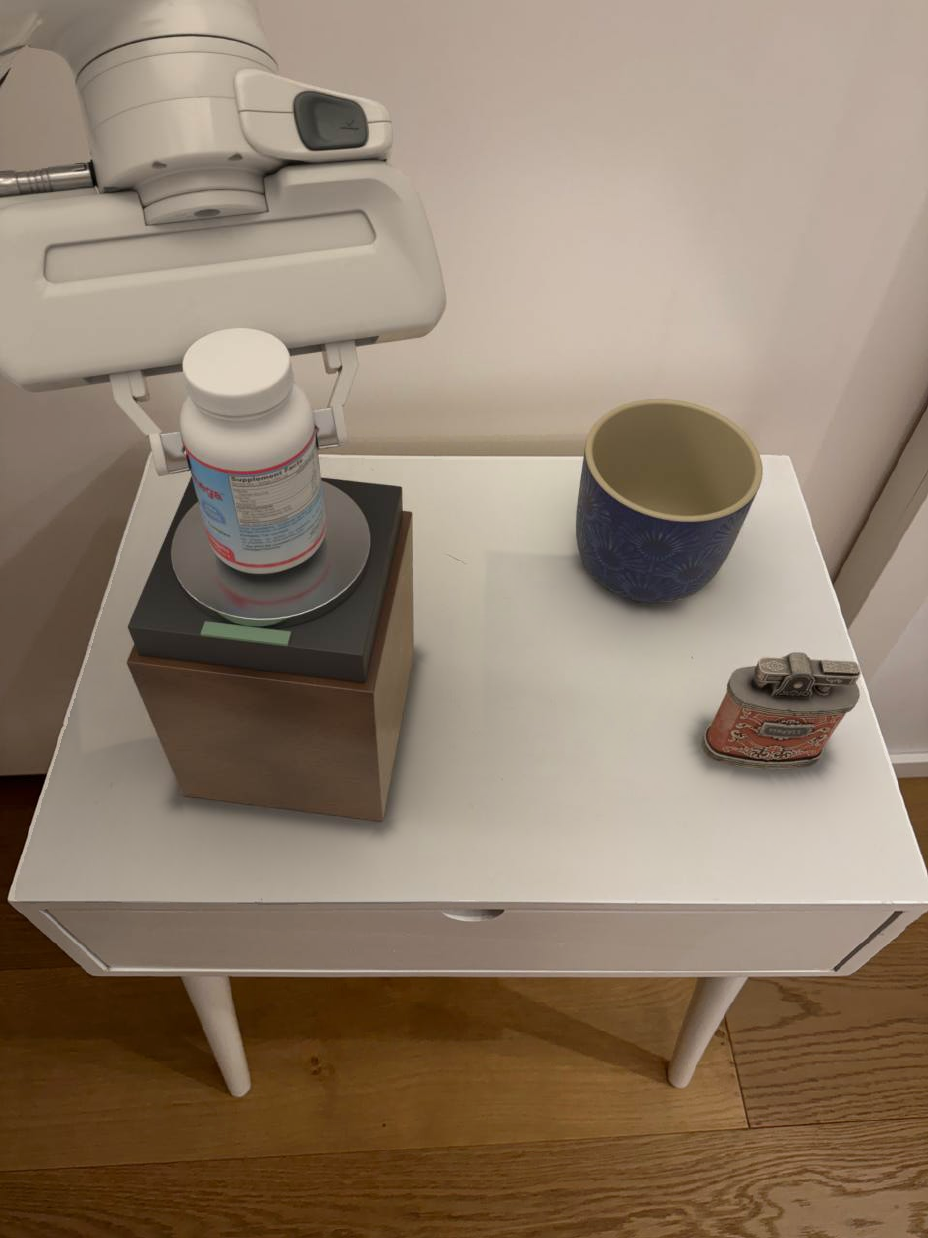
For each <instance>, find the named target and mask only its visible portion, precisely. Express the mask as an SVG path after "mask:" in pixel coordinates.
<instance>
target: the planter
mask: <svg viewBox="0 0 928 1238" xmlns="http://www.w3.org/2000/svg"><path fill="white" fill-rule="evenodd" d="M584 444H585V445H584V450H583V451H584V452H583V457H582V465H581V472H580V479H579V487H578V494H577V503H576V511H575V513H576V514H575V517H576V518H575V537H576V538H575V539H576V543H577V544H576V545H577V549H578V554H579V556H580V558H581V560H582V562H583V565H584V566H585V568H586V569H587V571H588V572H589V573H590V574H591V576H592V577H593V578H594V579H595V580H596V581H597V582H599V583H600V584H601V585H602V586H604V587H605V588H606V589H607V590H609V591H611V592H613V593H615V594H617V595H618V596H621V597H623V598H626V599H629V600H632V601H635V602H640V603H641V602H642V603H648V604H650V603H651V604H663V603H664V604H666V603H671V602H672V603H673V602H677V601H680V600H683V599H686V598H688V597H690V596H692V595H695V594H696V593H698V592H699V591H701V590H702V589H704V588H705V587H706V586H707V585H708V584H709V583H710V582H711V581H712V580H713V579H714V578H715V577H716V575H717V574H718V572H719V571H720V570H721V568H722V567H723V565H724V564H725V562H726V560H727V558H728V556H729V554H730V552H732V548H733V546H734V545H735V543H736V540H737V539H738V536H739V534H740V532H741V530H742V527H743V526H744V524H745V522H746V519H747V517H748V514H749V513H750V510H751V508H752V505H753V503H754V501H755V498H756V496H757V494H758V491H759V489H760V487H761V485H762V480H763V475H764V474H763V472H764V471H763V469H764V467H763V462H762V458H761V455H760V452H759V451H758V448H757V447H756V444H755V443H754V441H753V440H752V439H751V437H750V436H749V435H748V434H747V432H746V431H744V430H743V429H742V428H741V427H740V426H739V425H737V424H736V423H735V422H733V421H732V420H731V419H729V418H728V417H726V416H724V415H723V414H721V413H719V412H717V411H715V410H713V409H710V408H708V407H705V406H704V405H700V404H697V403H694V402H689V401H684V400H679V399H670V398H647V399H639V400H634V401H630V402H627V403H624V404H621V405H619V406H616V407H615V408H612V409H610V410H609V411H607V412H606V413H605V414H603V415H601V416H600V418H598V419H597V420H596V422H594V424H593V425H592V427H591V428H590V430H589V432H588V434H587V436H586V439H585V443H584Z"/></svg>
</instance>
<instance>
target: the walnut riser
mask: <svg viewBox="0 0 928 1238" xmlns="http://www.w3.org/2000/svg"><path fill="white" fill-rule="evenodd" d="M413 514H414V513H413V511H408V510H403V518H402V522H401V527H400V531H399V536H398V540H397V545H396V549H395V554H394V558H393V563H392V567H391V572H390V576H389V581H388V585H387V590H386V594H385V599H384V603H383V608H382V612H381V617H380V621H379V626H378V630H377V635H376V639H375V644H374V648H373V653H372V657H371V662H370V666H369V671H368V675H367V680H366V682H365V683H360V682H352V681H344V680H336V679H328V678H320V677H311V676H303V675H295V674H287V673H279V672H271V671H263V670H254V669H246V668H238V667H230V666H222V665H214V664H206V663H197V662H189V661H181V660H173V659H165V658H157V657H149V656H140V655H138V652H137V650H136V647H135V645H134V644H133V646H132V647H131V650H130V652H129V655H128V657H127V660H126V665H127V667H128V670H129V672H130V674H131V677H132V679H133V681H134V684H135V687H136V689H137V691H138V693H139V697H140V698H141V701H142V703H143V705H144V707H145V710H146V713H147V715H148V717H149V719H150V722H151V724H152V726H153V729H154V730H155V733H156V736H157V738H158V741H159V743H160V745H161V747H162V750H163V752H164V754H165V756H166V759H167V761H168V763H169V767H170V768H171V771H172V773H173V776H174V778H175V780H176V782H177V785H178V787H179V790H180V792H181V794H182V796H183V797H188V798H189V797H191V798H198V799H207V800H214V801H222V802H228V803H236V804H245V805H252V806H261V807H268V808H274V809H275V808H276V809H284V810H291V811H299V812H307V813H312V814H313V813H314V814H322V815H329V816H335V817H336V816H337V817H345V818H351V819H352V818H353V819H361V820H368V821H376V822H383V821H384V816H385V811H386V807H387V801H388V796H389V790H390V785H391V779H392V774H393V769H394V764H395V759H396V753H397V748H398V743H399V737H400V732H401V726H402V721H403V716H404V710H405V707H406V706H405V705H406V700H407V695H408V690H409V686H410V685H409V684H410V680H411V674H412V670H413V669H412V668H413V664H414V657H415V645H414V643H415V639H414V638H415V637H414V634H415V633H414V632H415V631H414V629H415V628H414V544H413V543H414V533H413V532H414V531H413V530H414V528H413V525H414V523H413V521H414V520H413V519H414V517H413Z"/></svg>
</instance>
